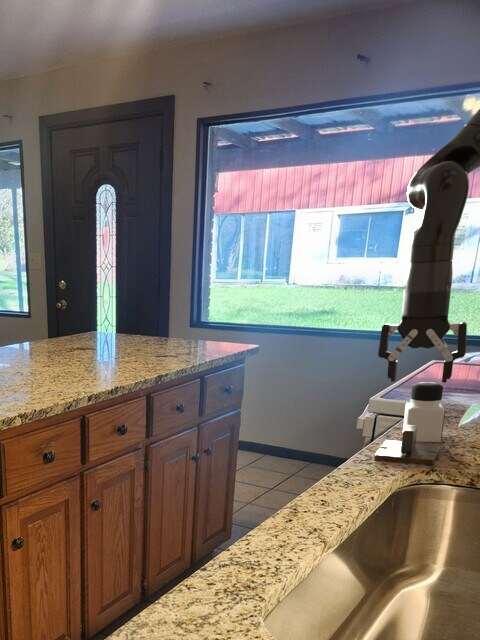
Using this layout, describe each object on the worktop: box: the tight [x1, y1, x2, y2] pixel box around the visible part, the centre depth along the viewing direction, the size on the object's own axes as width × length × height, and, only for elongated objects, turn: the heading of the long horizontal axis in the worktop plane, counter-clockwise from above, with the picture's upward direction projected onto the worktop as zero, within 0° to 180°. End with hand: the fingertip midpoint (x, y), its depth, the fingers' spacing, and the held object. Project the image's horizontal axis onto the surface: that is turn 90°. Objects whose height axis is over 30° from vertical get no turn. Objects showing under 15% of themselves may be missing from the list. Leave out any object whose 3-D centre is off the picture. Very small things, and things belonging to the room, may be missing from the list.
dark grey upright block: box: [401, 425, 418, 453], centre depth 130 cm, size 6×2×4 cm, turn 149°
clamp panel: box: [373, 439, 441, 467], centre depth 131 cm, size 10×12×3 cm
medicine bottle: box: [402, 381, 446, 443], centre depth 147 cm, size 7×7×12 cm
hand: (418, 381), depth 126 cm, fingers open, 8 cm apart
